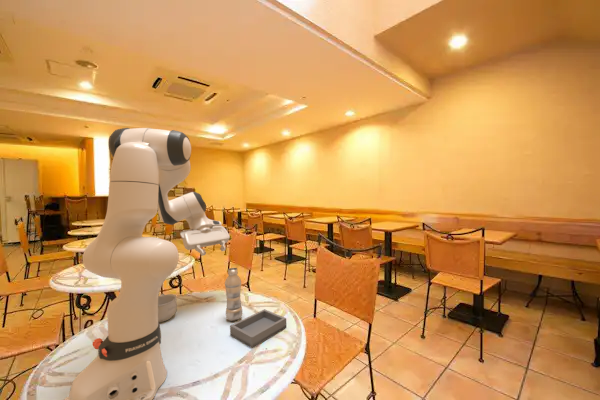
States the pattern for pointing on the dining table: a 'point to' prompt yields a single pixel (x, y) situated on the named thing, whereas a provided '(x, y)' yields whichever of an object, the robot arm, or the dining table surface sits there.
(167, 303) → the teacup
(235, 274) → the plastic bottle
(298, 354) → the dining table surface
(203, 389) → the dining table surface
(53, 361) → the dining table surface
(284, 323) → the tray
